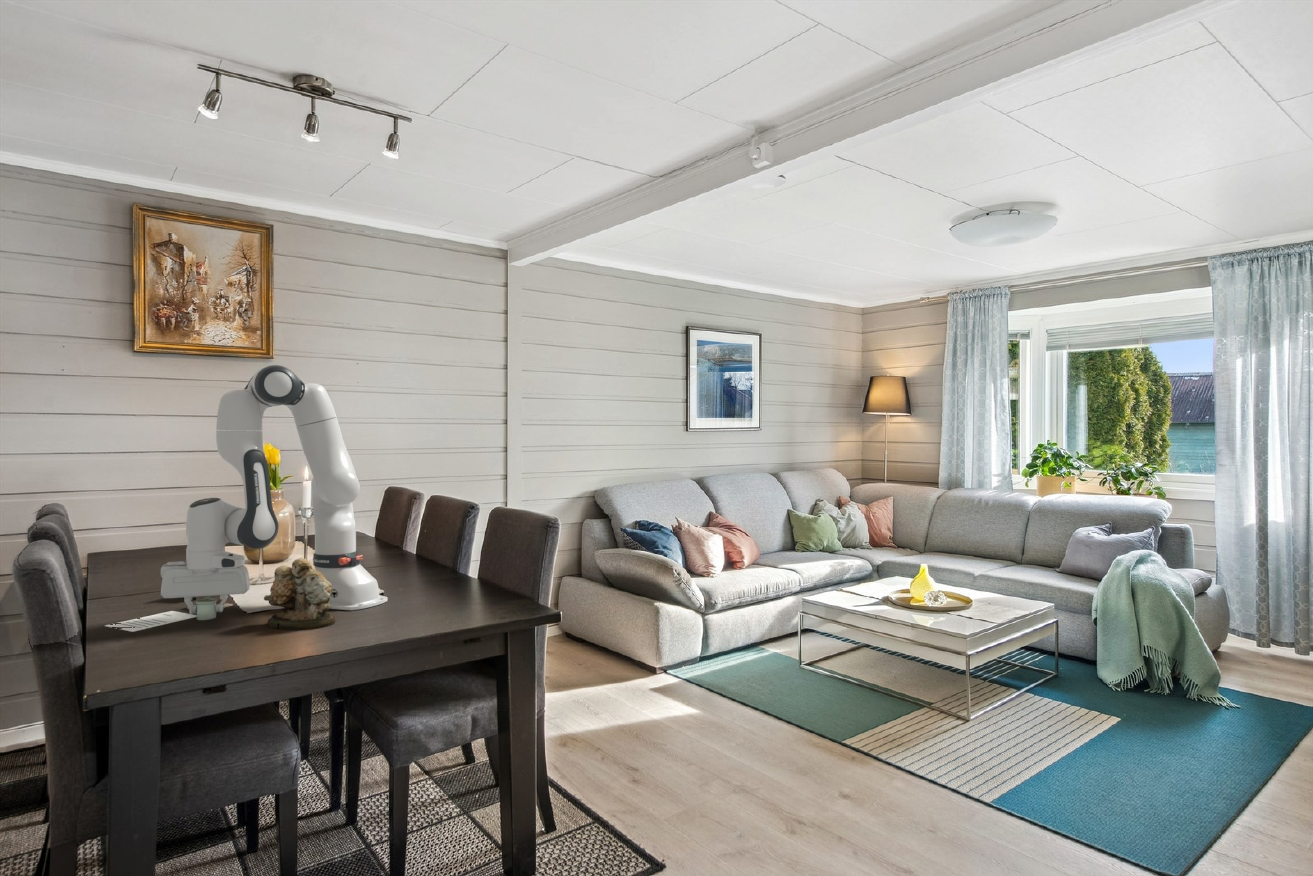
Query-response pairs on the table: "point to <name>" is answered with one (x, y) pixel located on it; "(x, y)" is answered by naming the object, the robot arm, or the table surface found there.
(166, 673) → the table surface
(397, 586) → the table surface
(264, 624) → the table surface
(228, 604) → the coaster
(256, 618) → the table surface
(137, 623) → the letter
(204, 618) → the jar
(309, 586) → the owl figurine
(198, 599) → the walnut block
